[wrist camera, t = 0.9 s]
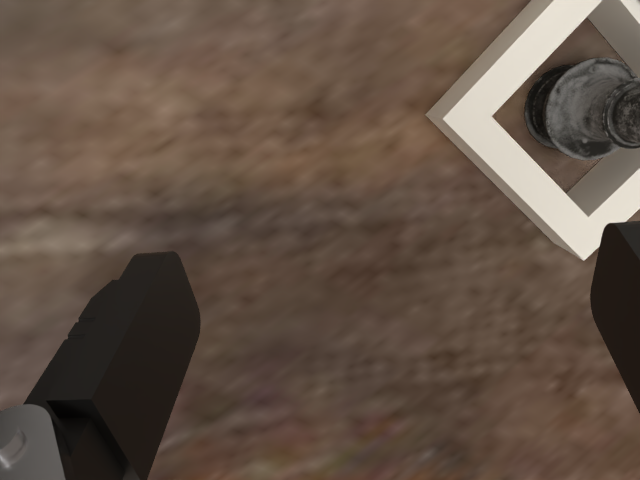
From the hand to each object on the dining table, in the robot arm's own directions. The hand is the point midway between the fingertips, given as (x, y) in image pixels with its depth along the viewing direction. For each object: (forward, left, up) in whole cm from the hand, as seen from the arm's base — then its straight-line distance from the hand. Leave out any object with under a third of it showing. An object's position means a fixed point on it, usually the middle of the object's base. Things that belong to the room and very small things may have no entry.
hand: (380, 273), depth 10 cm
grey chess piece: (+11, +12, -25) cm, 30 cm away
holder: (+11, +12, -25) cm, 30 cm away
